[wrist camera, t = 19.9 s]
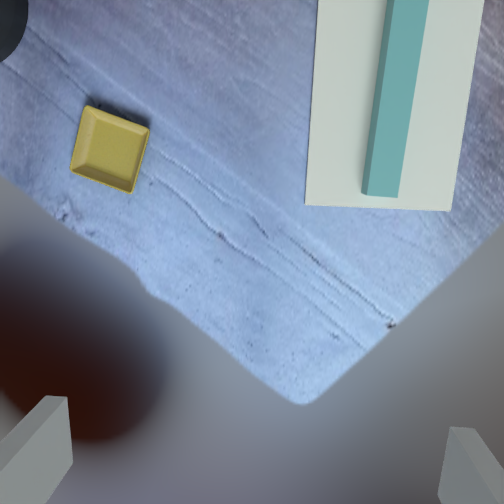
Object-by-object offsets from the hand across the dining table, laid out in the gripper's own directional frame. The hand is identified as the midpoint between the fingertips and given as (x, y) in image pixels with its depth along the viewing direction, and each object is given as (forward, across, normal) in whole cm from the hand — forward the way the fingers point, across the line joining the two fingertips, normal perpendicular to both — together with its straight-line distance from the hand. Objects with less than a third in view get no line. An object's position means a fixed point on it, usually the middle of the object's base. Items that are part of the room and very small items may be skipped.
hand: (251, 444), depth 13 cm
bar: (+38, +13, +18) cm, 44 cm away
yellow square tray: (+39, -21, +10) cm, 46 cm away
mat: (+39, +13, +18) cm, 45 cm away
